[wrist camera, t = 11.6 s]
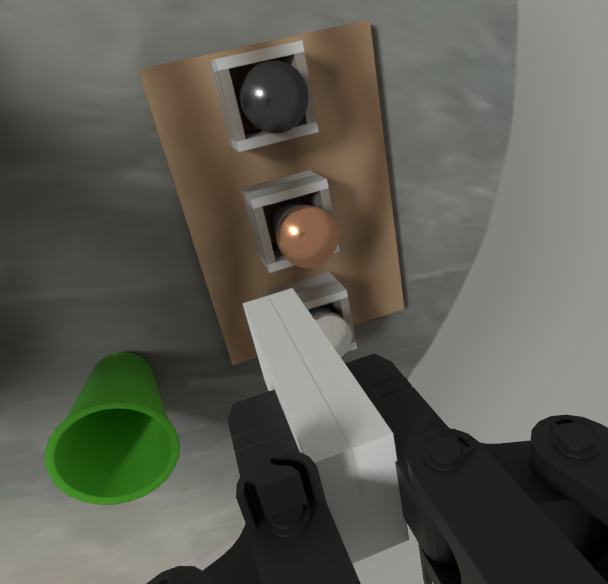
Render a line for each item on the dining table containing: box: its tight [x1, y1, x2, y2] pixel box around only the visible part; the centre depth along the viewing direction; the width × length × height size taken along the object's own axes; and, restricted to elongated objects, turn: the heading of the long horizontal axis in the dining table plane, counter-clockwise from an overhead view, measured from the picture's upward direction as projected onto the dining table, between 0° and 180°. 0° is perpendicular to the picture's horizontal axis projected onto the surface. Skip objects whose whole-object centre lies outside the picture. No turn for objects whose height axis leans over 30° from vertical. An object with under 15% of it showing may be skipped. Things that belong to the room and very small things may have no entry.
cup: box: [45, 352, 180, 505], centre depth 39 cm, size 9×9×11 cm
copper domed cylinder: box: [270, 199, 339, 268], centre depth 36 cm, size 4×4×5 cm
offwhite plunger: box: [308, 304, 352, 357], centre depth 42 cm, size 4×4×5 cm
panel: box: [138, 20, 404, 366], centre depth 40 cm, size 18×26×6 cm
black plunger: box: [237, 61, 308, 133], centre depth 33 cm, size 4×4×5 cm
